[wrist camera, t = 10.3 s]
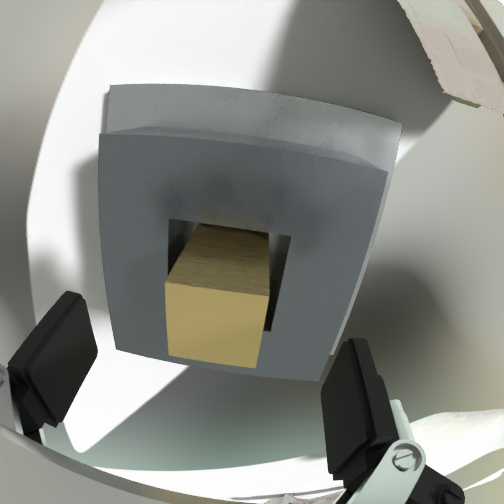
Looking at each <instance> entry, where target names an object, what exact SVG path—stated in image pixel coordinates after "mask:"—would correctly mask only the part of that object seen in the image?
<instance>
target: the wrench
mask: <svg viewBox="0 0 504 504" xmlns="http://www.w3.org/2000/svg"><path fill="white" fill-rule="evenodd" d="M341 493H342V491H340V492H336V493H333V494H329V495H326V496H322V497H317V498H313V499H299V498H295V497H293V495H294V494H292V493H290V494H287V493H285V495H284V496H283V497H277V498H274V499H271V500H269V501H267V502H265V503H264V504H332V503H333V502H334V501H335V500H336V499H337V498H338V496H339V495H340V494H341Z"/></svg>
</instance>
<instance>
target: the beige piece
mask: <svg viewBox="0 0 504 504" xmlns="http://www.w3.org/2000/svg"><path fill="white" fill-rule="evenodd" d="M397 1H398V2H399V3H400V5H401V6H402V7H401V8H402V9H404V10H405V13H406V14H407V15H406V16H407V17H408V19H409V20H410V23H411V24H412V27H413V28H414V29H415V30H414V31H415V32H416V33H417V36H418V37H419V38H420V41H421V43H422V46H423V48H424V50H425V52H426V53H427V56H428V58H429V59H431V64H432V65H433V69H434V70H435V72H436V73H435V74H436V76H437V77H438V82H439V83H440V85H441V87H442V88H443V89H444V90H445V91H443V93H447V94H449V95H451V96H452V98H453V100H455V101H457V102H460V103H463V104H466V105H469V106H473V107H476V108H478V107H480V106H484V107H487V108H488V107H490V108H491V109H493V110H495V111H497V112H500V113H503V116H504V6H503V5H502V3H501V2H499V1H498V0H397Z"/></svg>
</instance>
